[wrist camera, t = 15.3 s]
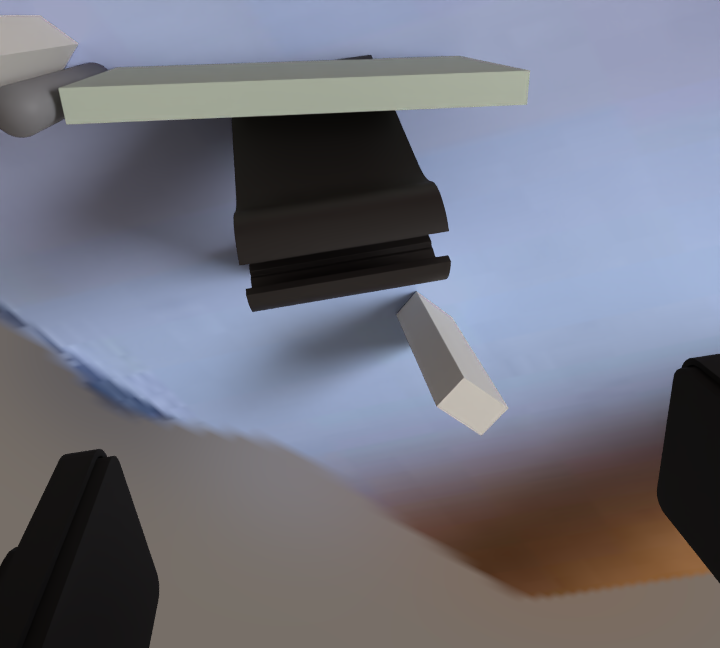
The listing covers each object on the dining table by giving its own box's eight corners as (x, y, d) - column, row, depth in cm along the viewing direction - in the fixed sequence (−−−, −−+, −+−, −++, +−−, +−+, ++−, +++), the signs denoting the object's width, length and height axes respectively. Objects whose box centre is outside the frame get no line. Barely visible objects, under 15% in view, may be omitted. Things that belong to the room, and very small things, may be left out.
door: (80, 100, 26) (-3, 138, 18) (72, 63, 25) (-18, 85, 17) (456, 85, 27) (535, 114, 19) (457, 50, 27) (539, 65, 19)
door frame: (451, 317, 33) (522, 430, 24) (431, 339, 33) (493, 458, 24) (40, 15, 24) (-89, 15, 15) (20, 50, 25) (-117, 69, 16)
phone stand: (390, 253, 31) (458, 379, 20) (268, 272, 30) (270, 412, 20) (371, 54, 27) (442, 79, 16) (229, 73, 26) (205, 113, 16)
